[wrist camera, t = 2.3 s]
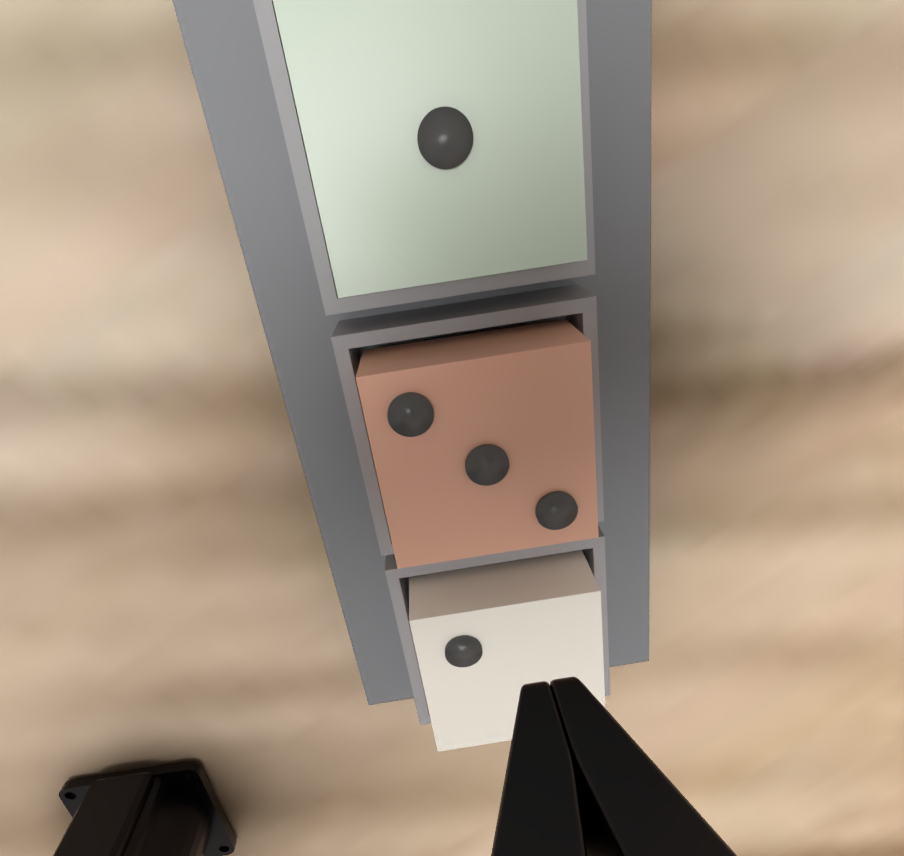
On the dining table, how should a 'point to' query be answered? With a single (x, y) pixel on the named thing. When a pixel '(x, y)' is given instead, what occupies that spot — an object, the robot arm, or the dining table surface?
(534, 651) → the tile two dots
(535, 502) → the tile three dots
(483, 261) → the tile one dot
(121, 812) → the robot arm
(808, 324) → the dining table surface
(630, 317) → the button board
